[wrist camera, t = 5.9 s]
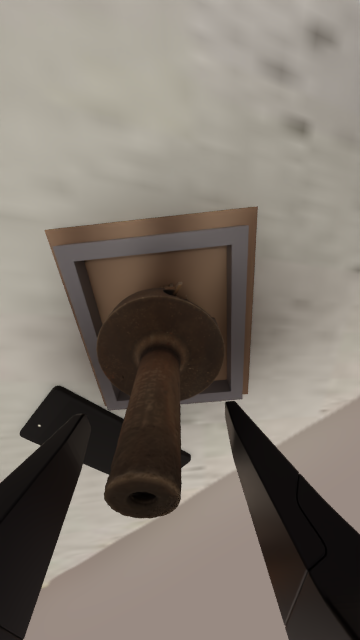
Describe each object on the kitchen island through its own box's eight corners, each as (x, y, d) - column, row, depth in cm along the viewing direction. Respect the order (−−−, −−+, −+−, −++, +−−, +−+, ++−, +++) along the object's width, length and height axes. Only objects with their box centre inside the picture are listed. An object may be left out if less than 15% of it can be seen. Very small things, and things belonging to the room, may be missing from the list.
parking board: (252, 207, 14) (257, 206, 13) (244, 386, 21) (247, 393, 20) (52, 229, 15) (44, 230, 14) (108, 398, 21) (105, 406, 20)
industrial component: (149, 249, 14) (63, 329, 3) (231, 301, 16) (349, 467, 5) (95, 347, 18) (-37, 549, 7) (168, 382, 19) (158, 588, 8)
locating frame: (241, 225, 14) (248, 225, 12) (237, 386, 20) (242, 399, 18) (64, 244, 14) (52, 246, 13) (112, 397, 20) (108, 410, 19)
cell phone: (149, 484, 29) (149, 492, 28) (22, 428, 24) (16, 435, 23) (192, 452, 26) (192, 460, 25) (58, 380, 21) (53, 387, 20)
